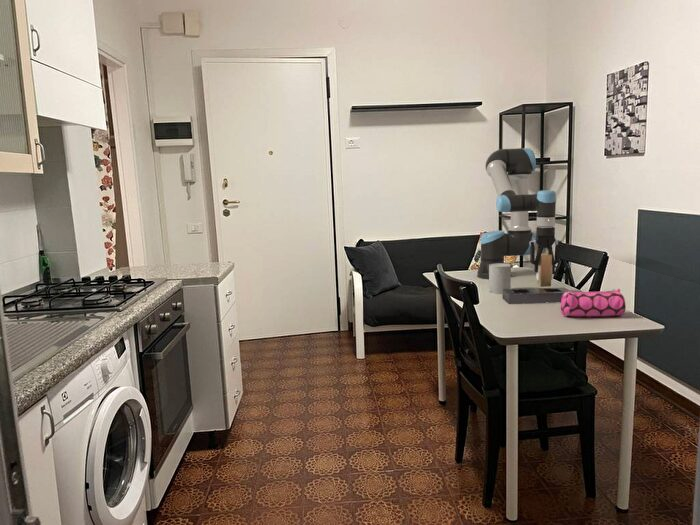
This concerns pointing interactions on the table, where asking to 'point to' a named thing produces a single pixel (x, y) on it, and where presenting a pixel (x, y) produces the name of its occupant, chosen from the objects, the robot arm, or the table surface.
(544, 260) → the brass peg
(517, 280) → the table surface
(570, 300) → the pencil case
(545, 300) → the gray slotted block
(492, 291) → the gray cylinder
